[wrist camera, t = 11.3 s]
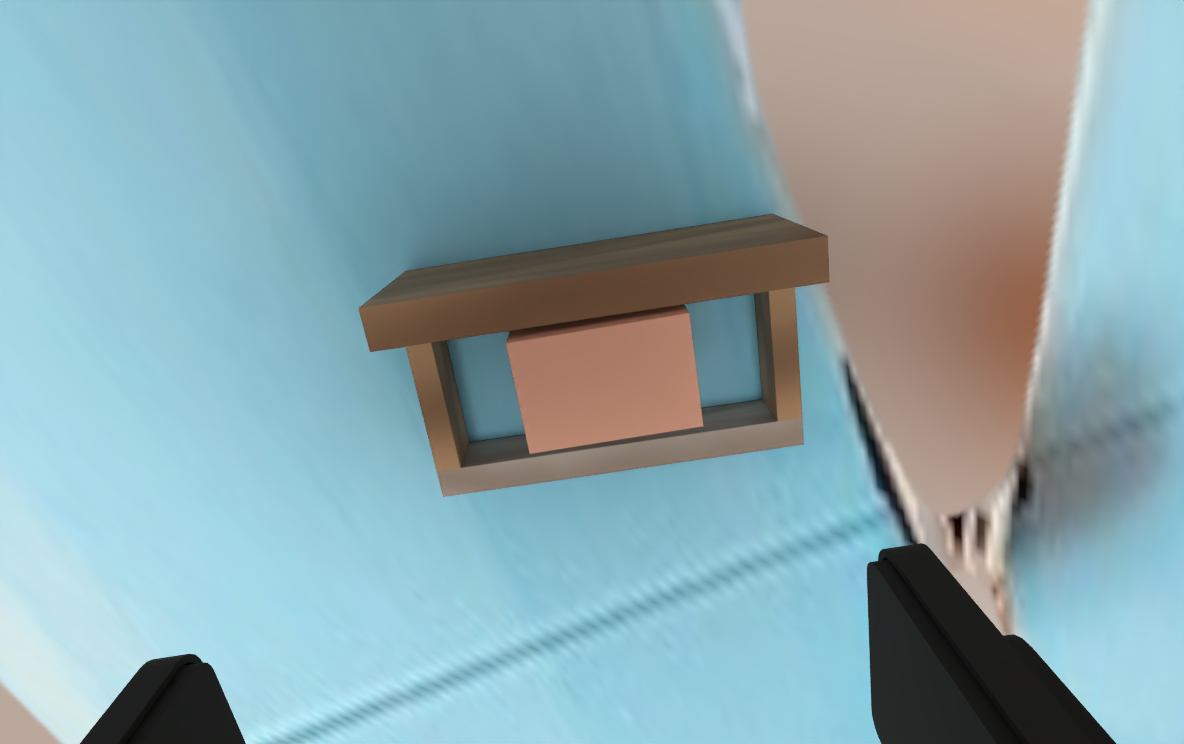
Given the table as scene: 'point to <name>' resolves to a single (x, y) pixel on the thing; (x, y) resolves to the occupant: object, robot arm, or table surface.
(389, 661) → the table surface
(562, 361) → the salmon pink block
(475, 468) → the board
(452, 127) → the table surface
